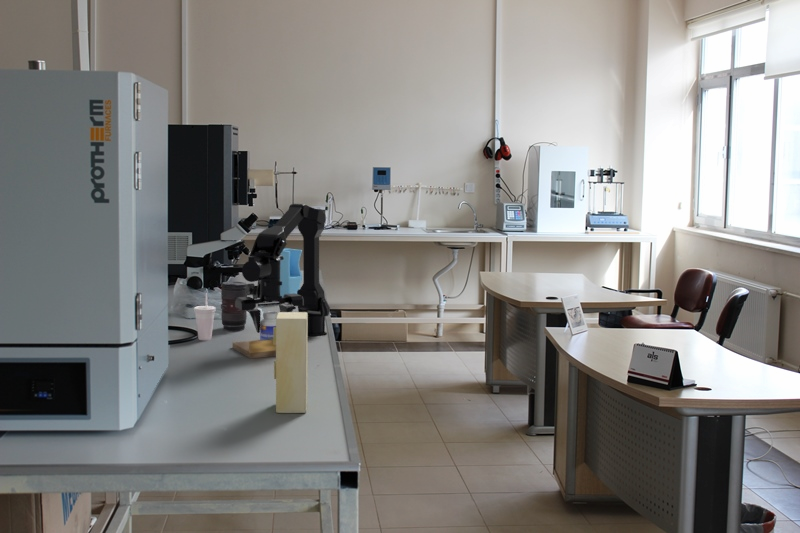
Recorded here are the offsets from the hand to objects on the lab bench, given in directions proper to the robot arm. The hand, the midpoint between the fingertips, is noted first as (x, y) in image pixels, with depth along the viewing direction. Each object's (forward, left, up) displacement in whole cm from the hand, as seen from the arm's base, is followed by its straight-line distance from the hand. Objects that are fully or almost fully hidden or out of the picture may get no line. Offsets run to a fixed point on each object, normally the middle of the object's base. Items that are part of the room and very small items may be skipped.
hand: (269, 331), depth 226 cm
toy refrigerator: (+16, +50, -6) cm, 52 cm away
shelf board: (0, -2, -6) cm, 6 cm away
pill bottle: (0, 0, -4) cm, 4 cm away
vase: (-38, -72, -6) cm, 82 cm away
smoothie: (+11, -23, -6) cm, 27 cm away
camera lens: (-2, -33, -6) cm, 34 cm away
